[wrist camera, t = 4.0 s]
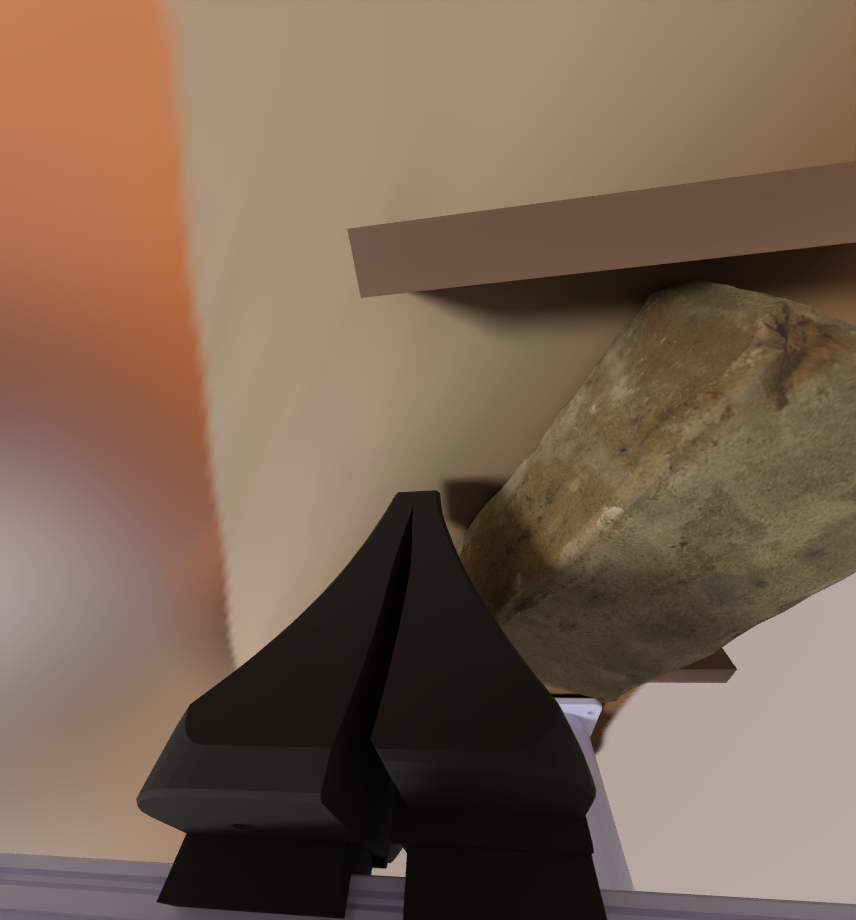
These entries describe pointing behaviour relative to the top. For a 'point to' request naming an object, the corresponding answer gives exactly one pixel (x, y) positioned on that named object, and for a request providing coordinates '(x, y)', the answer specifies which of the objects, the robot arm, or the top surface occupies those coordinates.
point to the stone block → (677, 492)
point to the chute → (614, 248)
